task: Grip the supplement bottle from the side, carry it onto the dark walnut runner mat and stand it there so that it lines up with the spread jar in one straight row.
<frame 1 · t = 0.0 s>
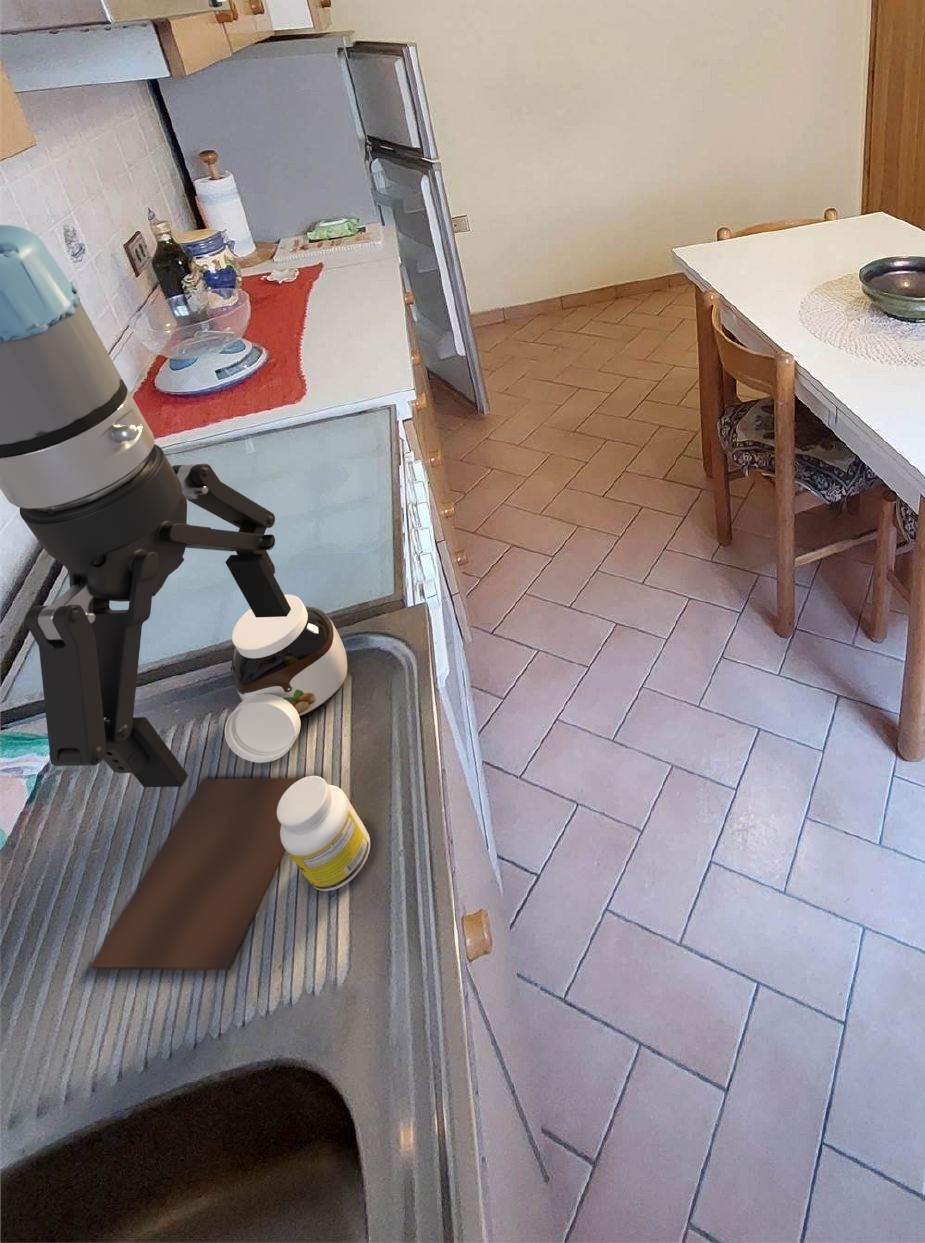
hand: (225, 688, 56), 23 cm above the worktop, tool pointing down, fingers open, 13 cm apart
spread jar: (299, 710, 80), on the worktop
supplement bottle: (340, 860, 67), on the worktop
runner mat: (215, 866, 67), on the worktop
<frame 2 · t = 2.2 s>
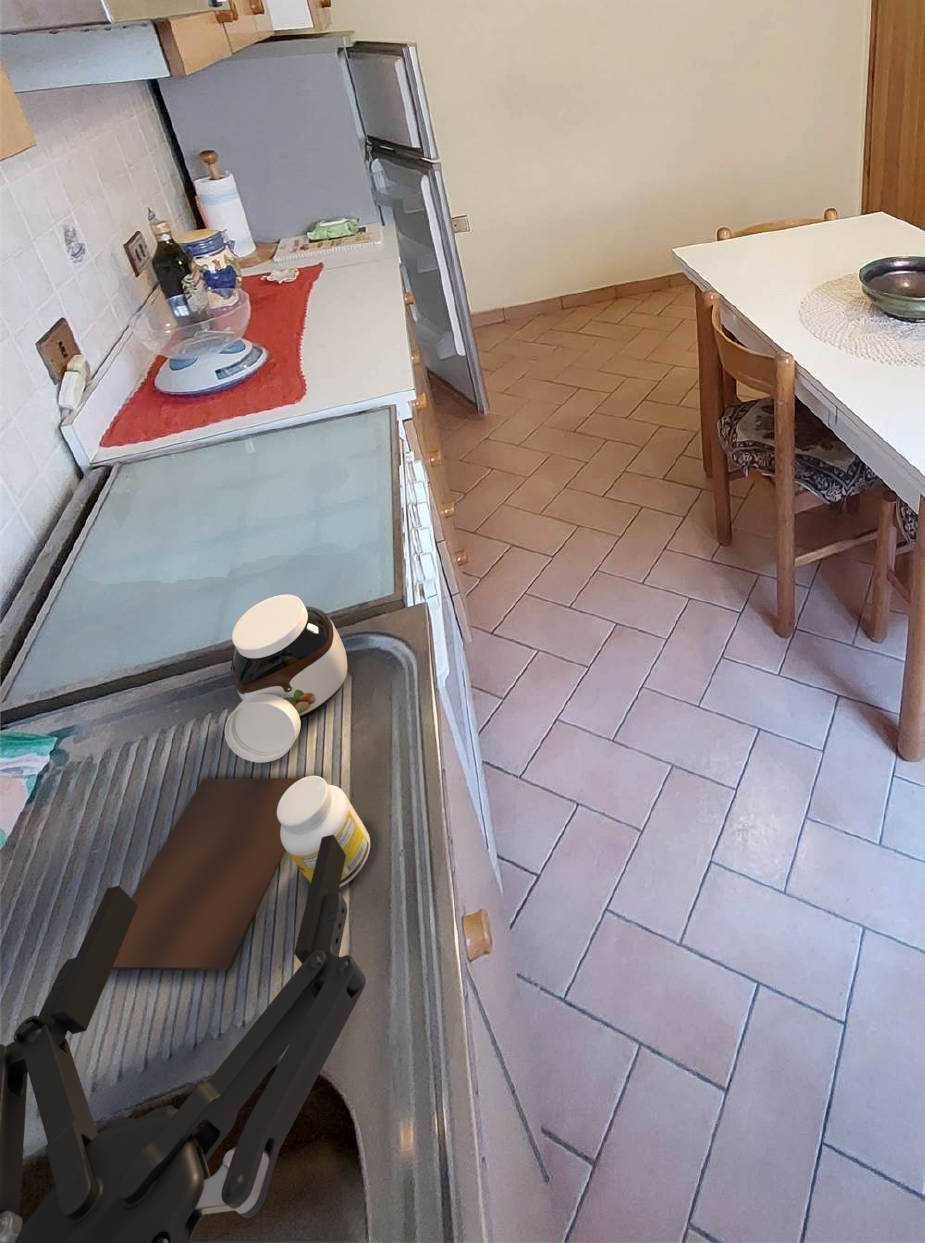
hand: (230, 870, 50), 18 cm above the worktop, tool horizontal, fingers open, 13 cm apart
nothing on the worktop moved.
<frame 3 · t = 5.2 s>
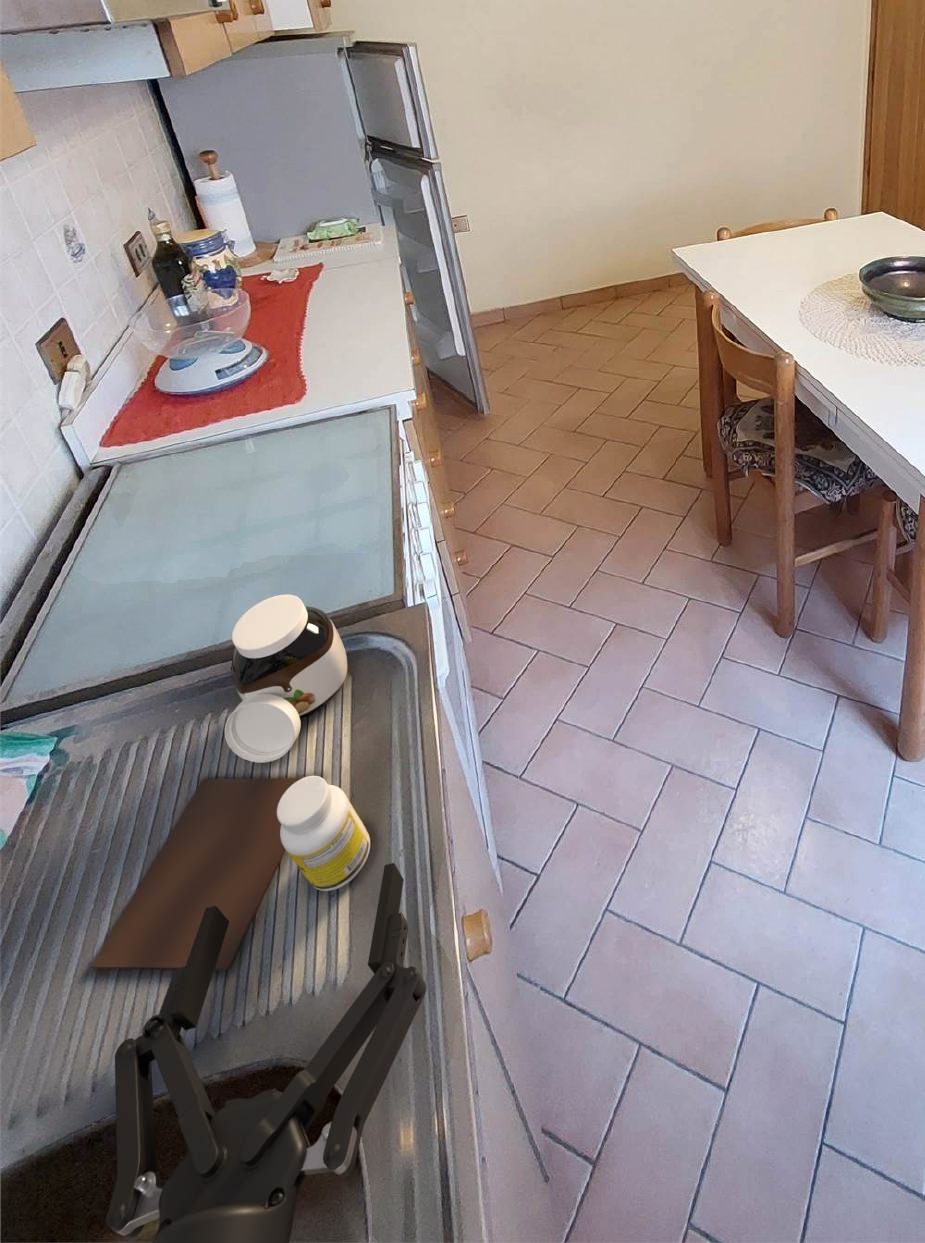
hand: (307, 892, 59), 6 cm above the worktop, tool horizontal, fingers open, 13 cm apart
nothing on the worktop moved.
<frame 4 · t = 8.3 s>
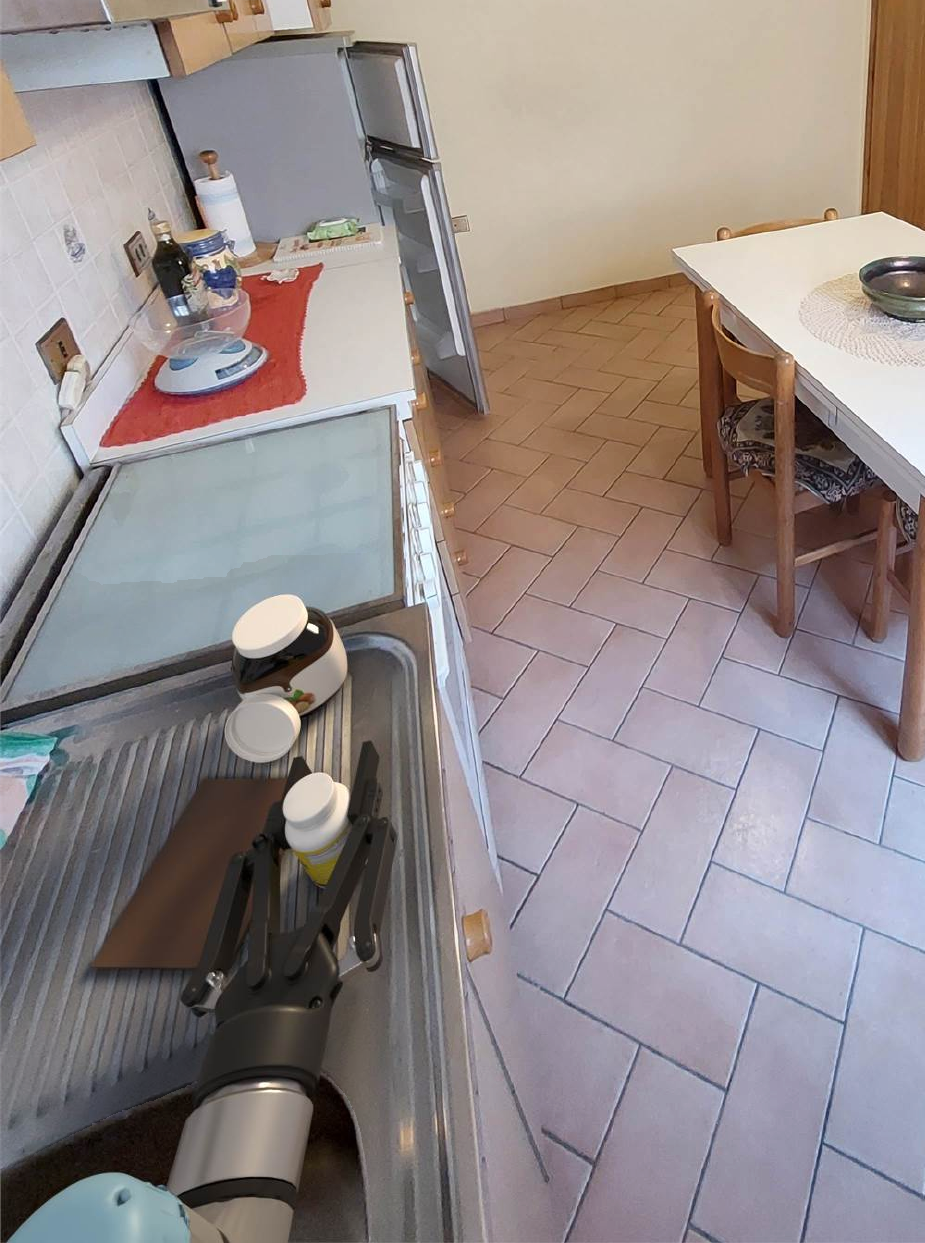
hand: (337, 758, 68), 6 cm above the worktop, tool horizontal, fingers closed on supplement bottle, 5 cm apart
supplement bottle: (343, 858, 67), on the worktop, touching gripper
everything else where it was.
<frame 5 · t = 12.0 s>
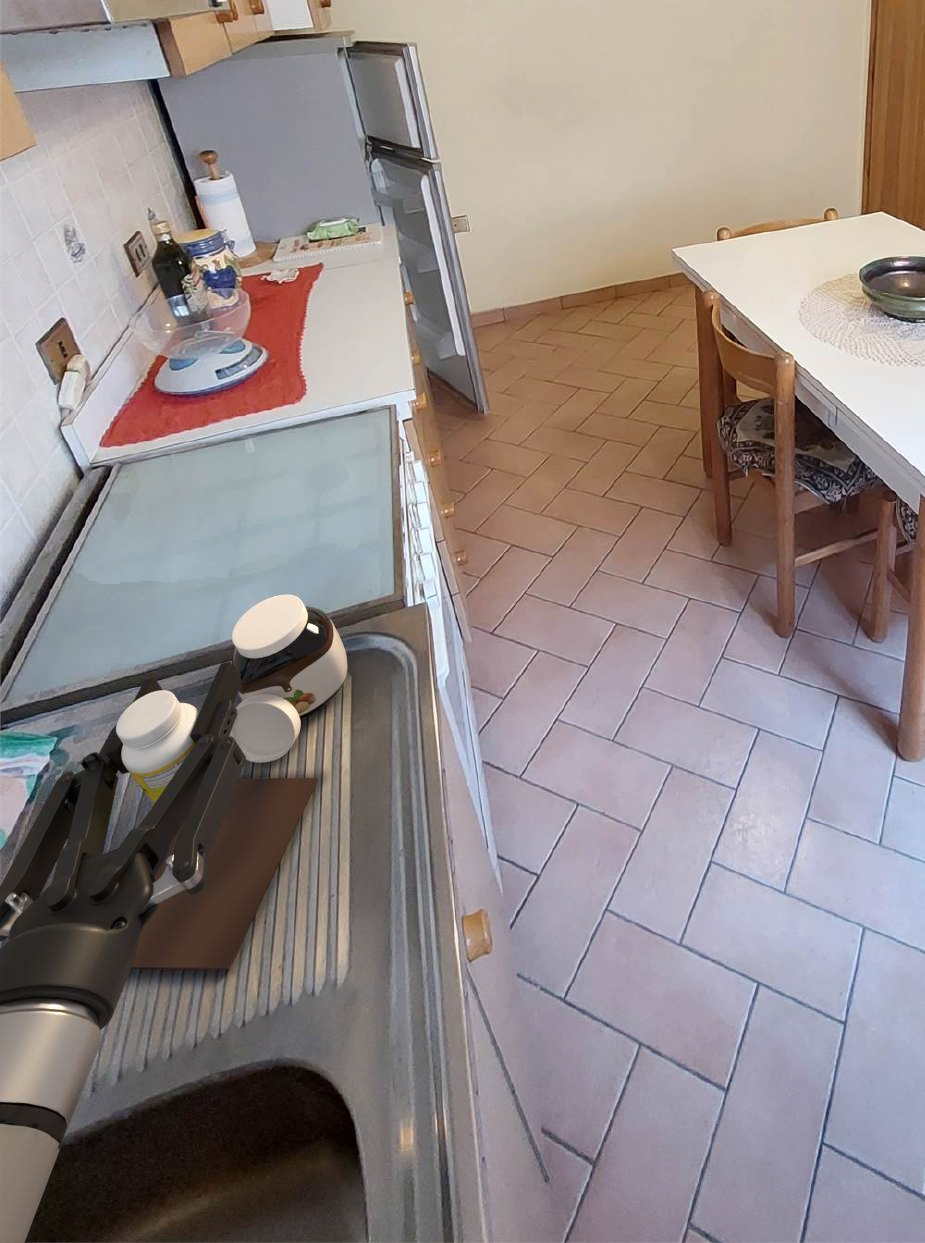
hand: (194, 681, 64), 18 cm above the worktop, tool horizontal, fingers closed on supplement bottle, 5 cm apart
supplement bottle: (196, 787, 62), point 11 cm above the worktop, touching gripper
everything else where it was.
when the fingers open (6 cm above the worktop, at t = 15.7 s): supplement bottle stays where it is, resting on runner mat.
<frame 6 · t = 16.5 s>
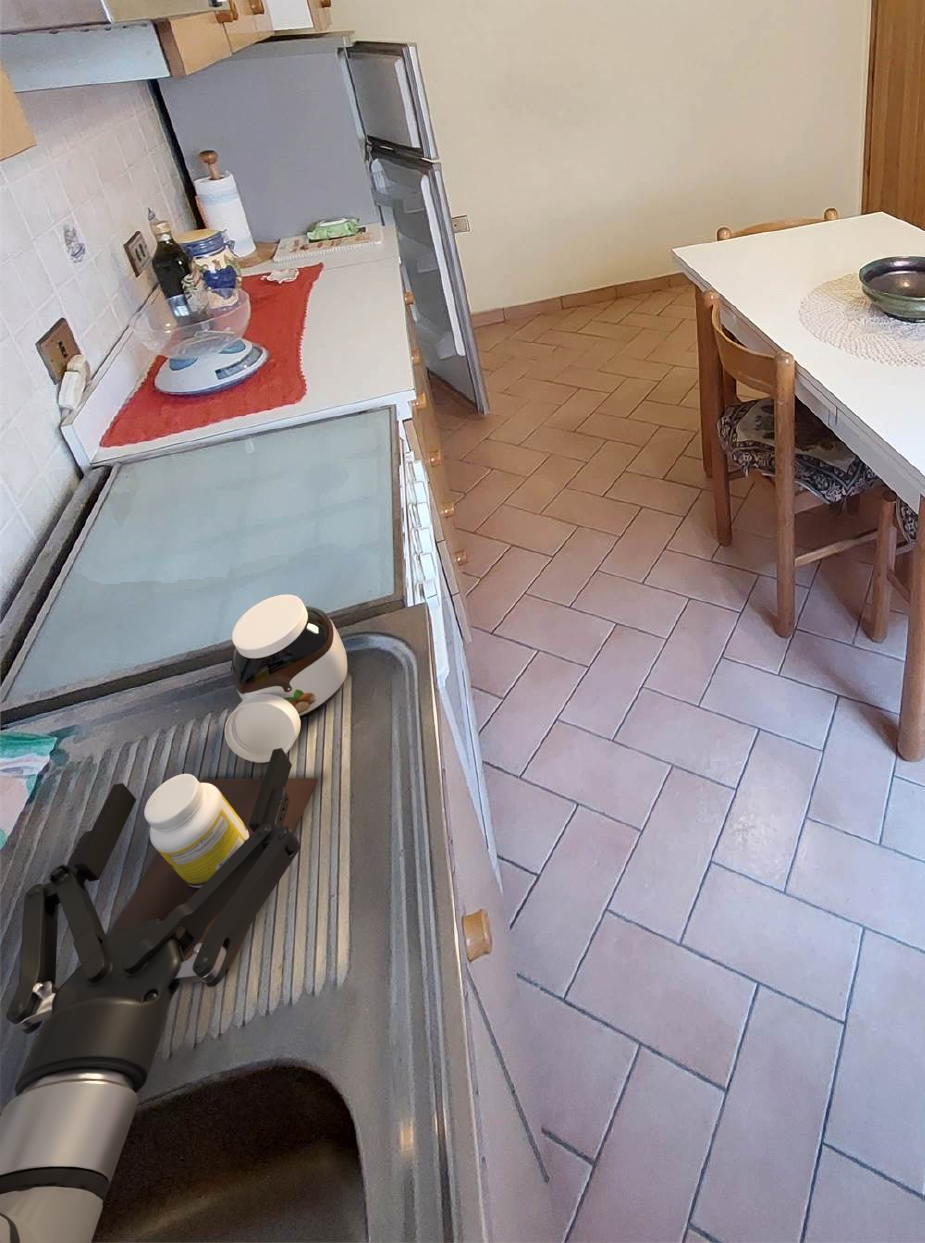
hand: (205, 774, 67), 7 cm above the worktop, tool horizontal, fingers open, 13 cm apart
supplement bottle: (218, 857, 67), resting on runner mat
everything else where it was.
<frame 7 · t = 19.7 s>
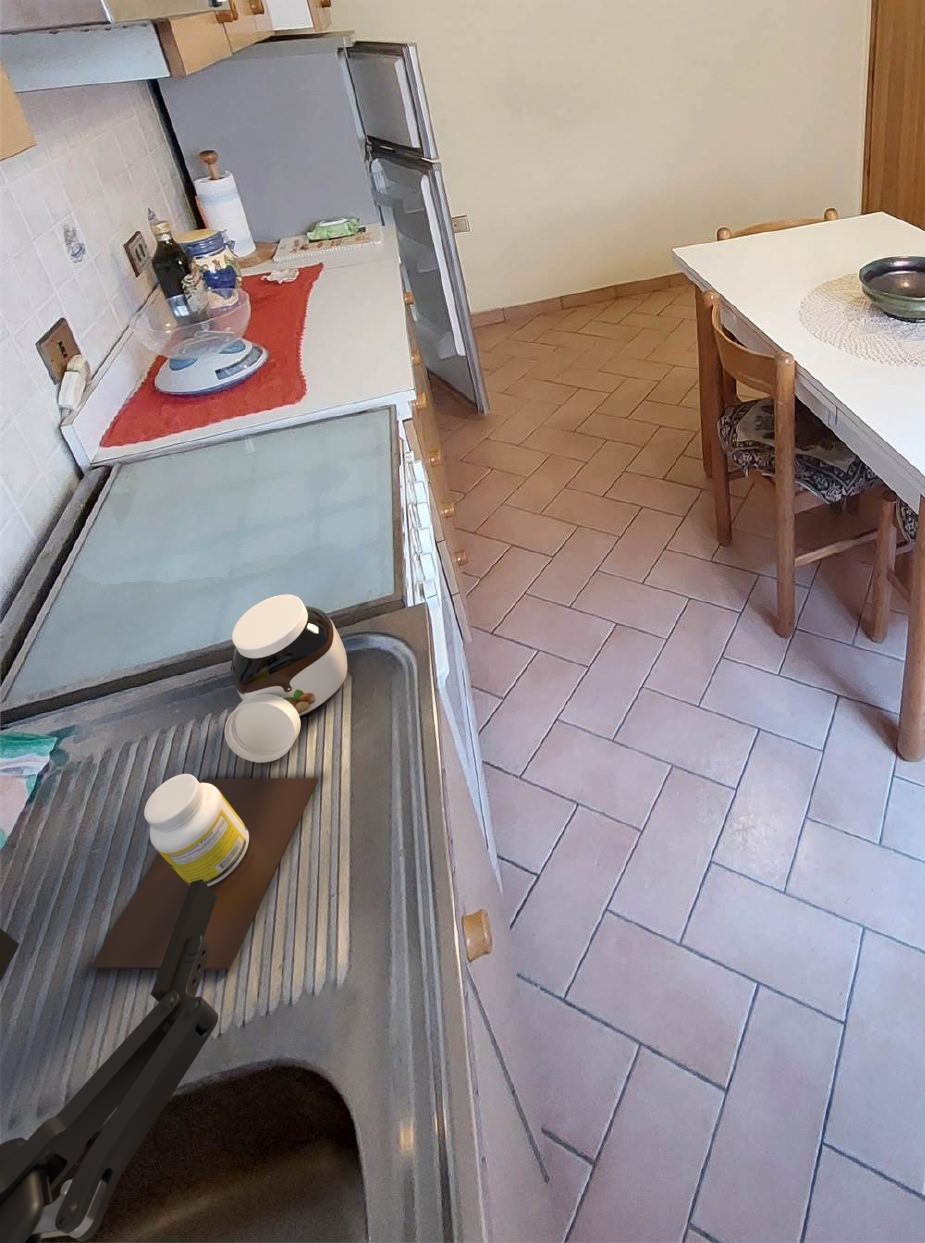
hand: (106, 912, 54), 12 cm above the worktop, tool horizontal, fingers open, 13 cm apart
nothing on the worktop moved.
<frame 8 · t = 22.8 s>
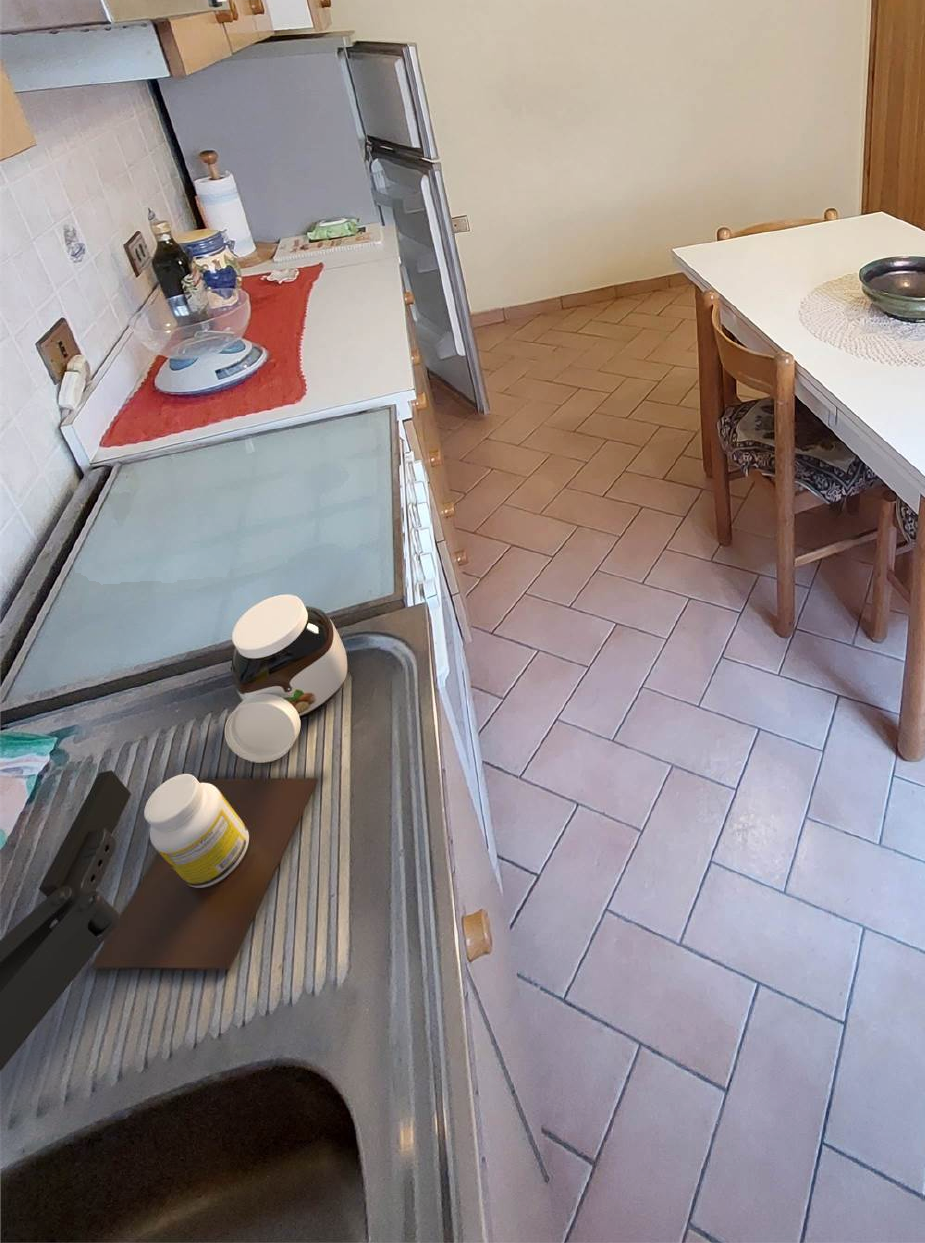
hand: (1, 808, 47), 26 cm above the worktop, tool horizontal, fingers open, 13 cm apart
nothing on the worktop moved.
at the end: supplement bottle 0.4 cm from the target spot on the worktop beside the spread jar, resting on runner mat; supplement bottle tilted 0°; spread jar moved 0.2 cm from its start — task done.
